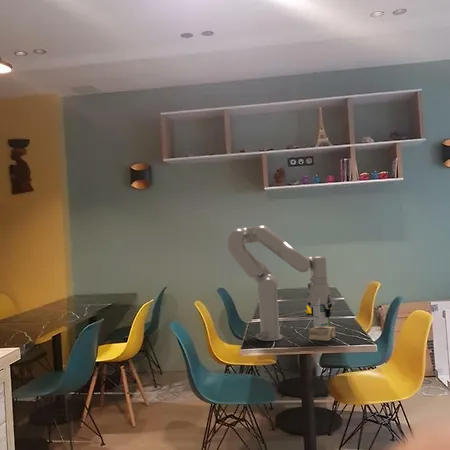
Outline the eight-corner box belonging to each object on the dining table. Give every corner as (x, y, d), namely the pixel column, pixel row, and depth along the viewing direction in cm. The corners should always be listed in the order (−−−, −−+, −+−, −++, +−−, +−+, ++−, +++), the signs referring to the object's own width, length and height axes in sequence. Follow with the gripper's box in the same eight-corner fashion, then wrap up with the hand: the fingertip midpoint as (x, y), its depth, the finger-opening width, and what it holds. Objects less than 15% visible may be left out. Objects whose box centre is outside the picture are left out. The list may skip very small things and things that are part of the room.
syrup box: (320, 327, 254) (319, 298, 254) (313, 325, 259) (312, 297, 259) (329, 326, 256) (328, 297, 256) (322, 324, 262) (321, 296, 262)
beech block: (328, 341, 251) (328, 330, 251) (309, 339, 256) (308, 329, 256) (335, 336, 259) (334, 326, 259) (316, 335, 265) (316, 325, 265)
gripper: (300, 281, 261) (302, 316, 261) (330, 282, 249) (332, 318, 249) (308, 279, 266) (310, 313, 266) (338, 280, 255) (340, 316, 255)
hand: (321, 315), depth 258 cm, fingers closed on syrup box, 7 cm apart
